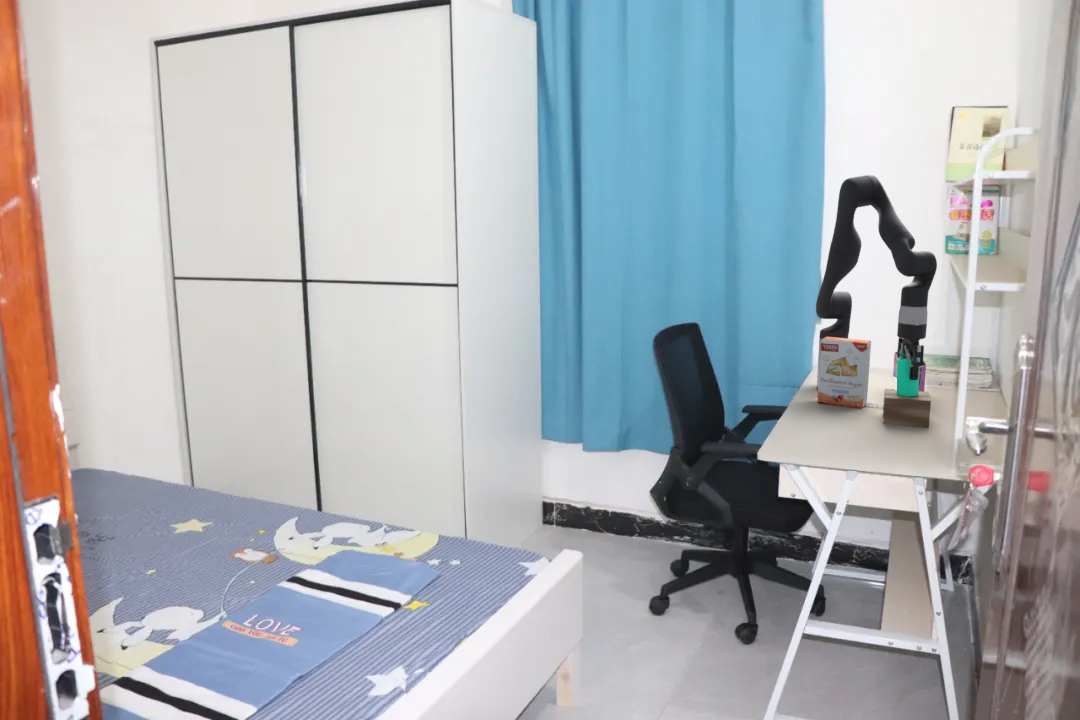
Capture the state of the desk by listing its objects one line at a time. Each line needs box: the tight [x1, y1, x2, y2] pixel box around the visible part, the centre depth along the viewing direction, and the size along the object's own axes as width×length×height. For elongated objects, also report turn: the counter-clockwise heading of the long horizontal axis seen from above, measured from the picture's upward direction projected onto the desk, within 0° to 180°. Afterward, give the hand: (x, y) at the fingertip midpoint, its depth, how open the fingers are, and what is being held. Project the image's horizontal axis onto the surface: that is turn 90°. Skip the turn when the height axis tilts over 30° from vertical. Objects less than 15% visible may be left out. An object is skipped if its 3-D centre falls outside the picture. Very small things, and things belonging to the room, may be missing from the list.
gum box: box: [892, 351, 927, 392], centre depth 266 cm, size 24×8×14 cm, turn 161°
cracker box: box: [817, 337, 872, 409], centre depth 260 cm, size 14×6×21 cm, turn 56°
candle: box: [897, 357, 919, 396], centre depth 240 cm, size 6×6×12 cm
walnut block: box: [882, 388, 932, 429], centre depth 241 cm, size 12×12×8 cm
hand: (908, 376), depth 240 cm, fingers open, 8 cm apart
